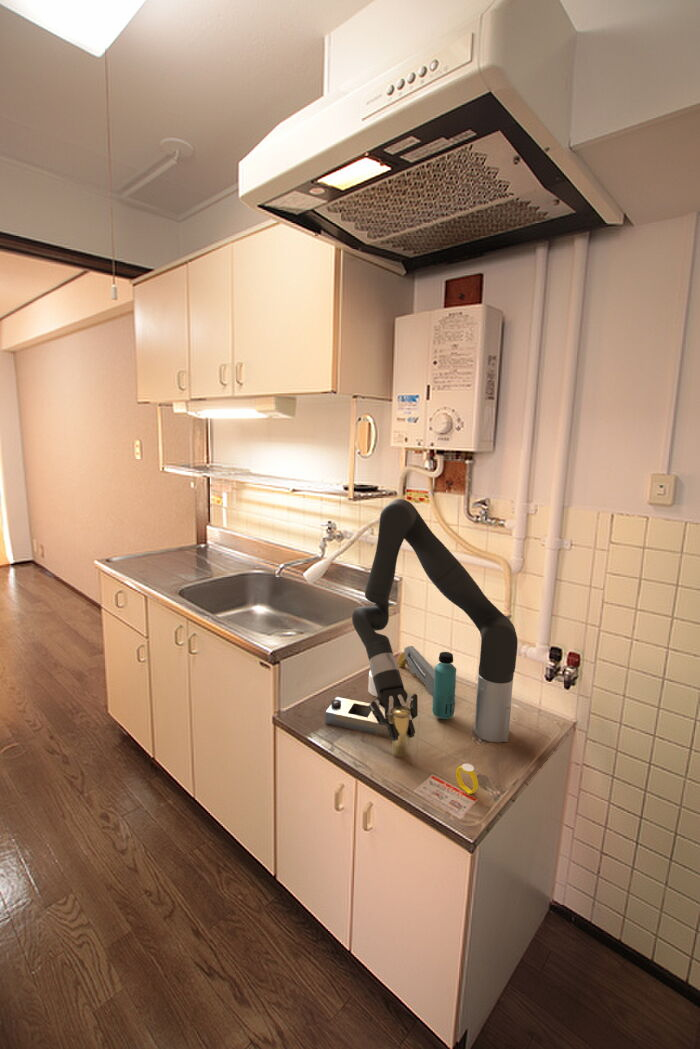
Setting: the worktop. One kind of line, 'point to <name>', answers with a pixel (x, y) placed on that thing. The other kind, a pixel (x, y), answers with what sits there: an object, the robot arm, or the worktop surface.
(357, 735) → the worktop surface
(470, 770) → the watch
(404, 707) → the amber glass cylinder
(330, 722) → the metal socket block
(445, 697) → the beverage bottle
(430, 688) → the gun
